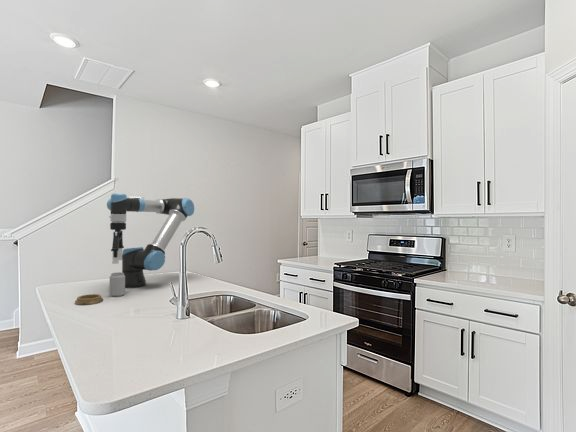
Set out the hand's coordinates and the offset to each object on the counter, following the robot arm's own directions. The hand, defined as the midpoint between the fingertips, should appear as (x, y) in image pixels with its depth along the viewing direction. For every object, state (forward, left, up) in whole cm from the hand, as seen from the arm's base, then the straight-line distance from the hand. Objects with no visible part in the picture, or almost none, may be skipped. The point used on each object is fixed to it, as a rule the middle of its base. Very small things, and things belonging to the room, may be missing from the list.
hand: (117, 261), depth 180 cm
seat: (+11, +11, -18) cm, 24 cm away
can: (0, 0, -18) cm, 18 cm away
